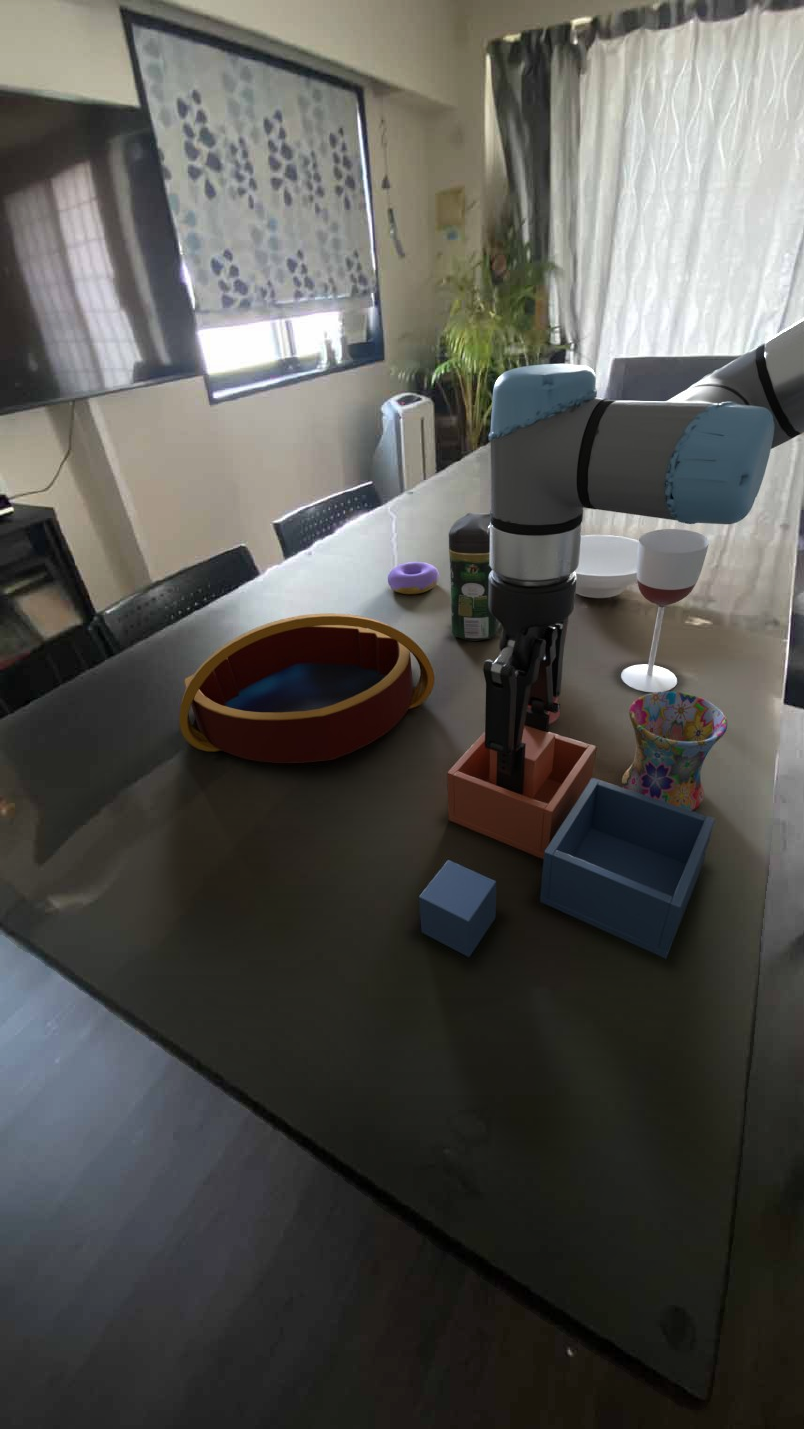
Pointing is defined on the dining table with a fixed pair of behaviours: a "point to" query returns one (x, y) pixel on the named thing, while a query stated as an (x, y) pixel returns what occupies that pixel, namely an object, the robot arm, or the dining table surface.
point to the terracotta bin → (519, 796)
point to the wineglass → (664, 591)
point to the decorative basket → (304, 689)
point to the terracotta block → (531, 760)
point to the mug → (672, 746)
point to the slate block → (458, 907)
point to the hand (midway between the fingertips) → (521, 775)
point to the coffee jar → (471, 578)
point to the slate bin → (626, 864)
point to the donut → (413, 578)
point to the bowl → (606, 565)
